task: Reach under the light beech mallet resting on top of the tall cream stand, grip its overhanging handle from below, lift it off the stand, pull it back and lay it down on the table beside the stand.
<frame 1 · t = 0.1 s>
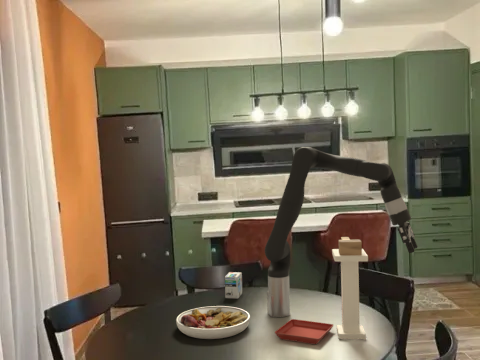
hand: (413, 250, 201), 31 cm above the table, tool tilted 20°, fingers open, 8 cm apart
tall stand: (350, 334, 200), on the table
beech mallet: (350, 253, 195), point 32 cm above the table, touching tall stand
light bulb box: (234, 296, 260), on the table
bowl: (213, 329, 213), on the table
plant saucer: (304, 336, 201), on the table
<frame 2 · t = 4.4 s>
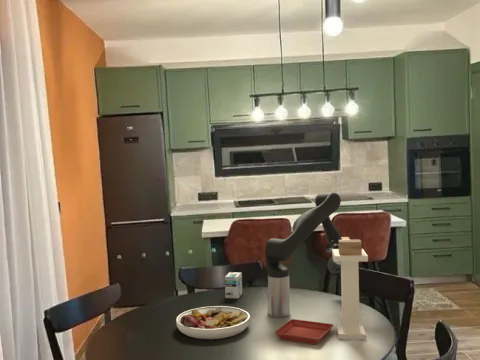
hand: (342, 242, 225), 31 cm above the table, tool pointing upward, fingers open, 8 cm apart
nothing on the table moved.
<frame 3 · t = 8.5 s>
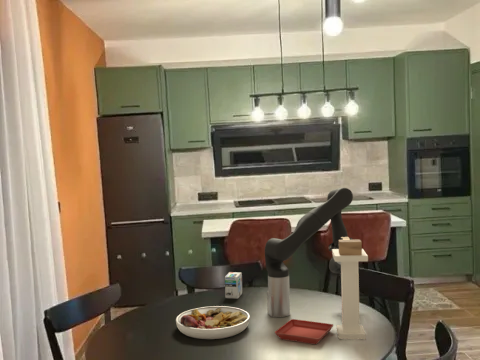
hand: (346, 240, 209), 35 cm above the table, tool pointing upward, fingers closed on beech mallet, 3 cm apart
beech mallet: (350, 253, 195), point 32 cm above the table, touching gripper, tall stand
everything else where it was.
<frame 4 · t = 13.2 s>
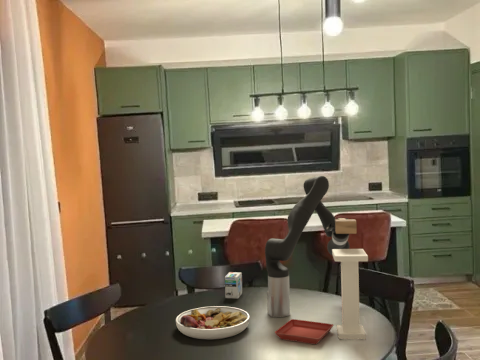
hand: (342, 220, 223), 41 cm above the table, tool pointing upward, fingers closed on beech mallet, 3 cm apart
beech mallet: (345, 232, 210), point 38 cm above the table, touching gripper
everything else where it was.
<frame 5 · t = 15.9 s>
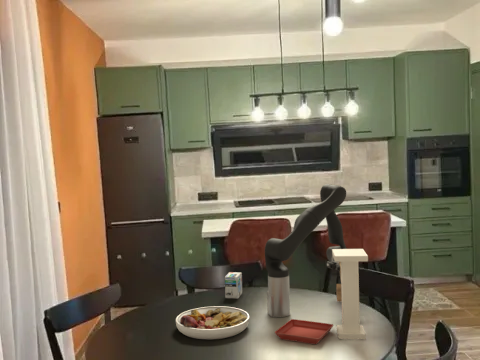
hand: (343, 268, 224), 20 cm above the table, tool horizontal, fingers closed on beech mallet, 3 cm apart
beech mallet: (346, 297, 214), point 10 cm above the table, tilted 30°, touching gripper
everything else where it was.
when the fingers open (12 cm above the table, at t = 17.9 s): beech mallet drops 3 cm, on the table.
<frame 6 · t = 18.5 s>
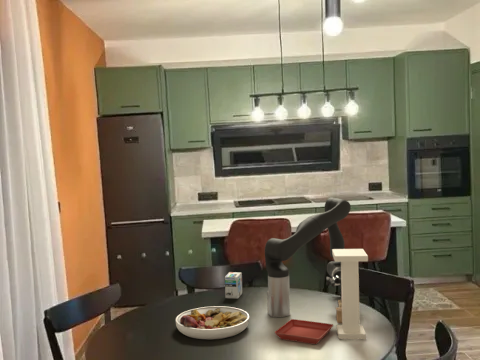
hand: (343, 285, 225), 12 cm above the table, tool horizontal, fingers open, 8 cm apart
beech mallet: (346, 321, 216), on the table
everything else where it was.
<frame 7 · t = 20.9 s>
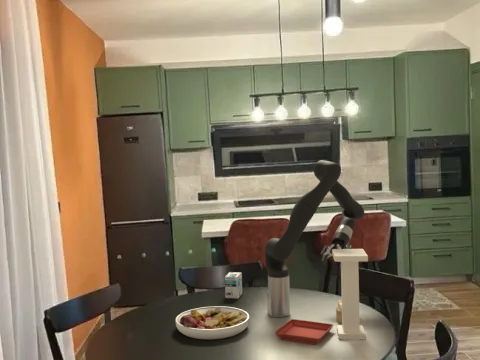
hand: (331, 262, 233), 21 cm above the table, tool tilted 55°, fingers open, 8 cm apart
nothing on the table moved.
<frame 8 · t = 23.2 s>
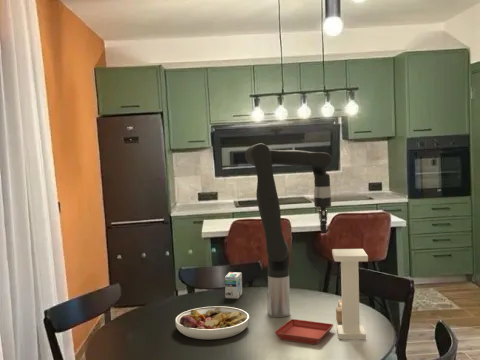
hand: (323, 231, 237), 34 cm above the table, tool pointing down, fingers open, 8 cm apart
nothing on the table moved.
at the end: beech mallet inside the target area (0.2 cm from its centre), on the table; beech mallet touching table; the gripper is holding nothing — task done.
